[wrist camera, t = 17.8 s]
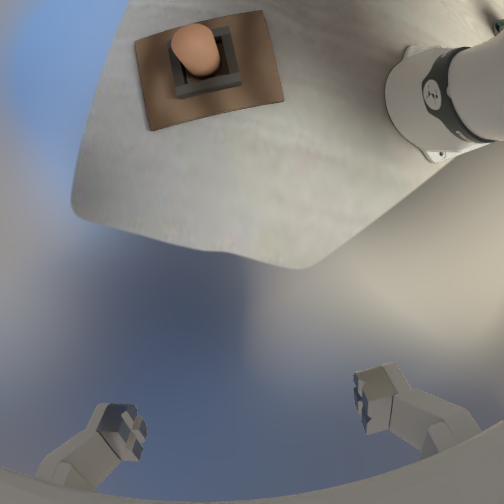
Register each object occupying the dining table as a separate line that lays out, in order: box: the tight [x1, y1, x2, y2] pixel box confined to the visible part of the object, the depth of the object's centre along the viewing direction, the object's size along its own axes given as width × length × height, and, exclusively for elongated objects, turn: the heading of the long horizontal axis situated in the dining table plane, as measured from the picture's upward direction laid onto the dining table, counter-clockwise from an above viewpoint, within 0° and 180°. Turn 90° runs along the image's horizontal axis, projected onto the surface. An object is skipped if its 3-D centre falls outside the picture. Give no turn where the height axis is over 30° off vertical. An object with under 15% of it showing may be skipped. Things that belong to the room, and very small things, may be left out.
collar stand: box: [135, 10, 284, 131], centre depth 35 cm, size 18×14×4 cm
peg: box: [171, 24, 222, 80], centre depth 31 cm, size 4×4×10 cm
